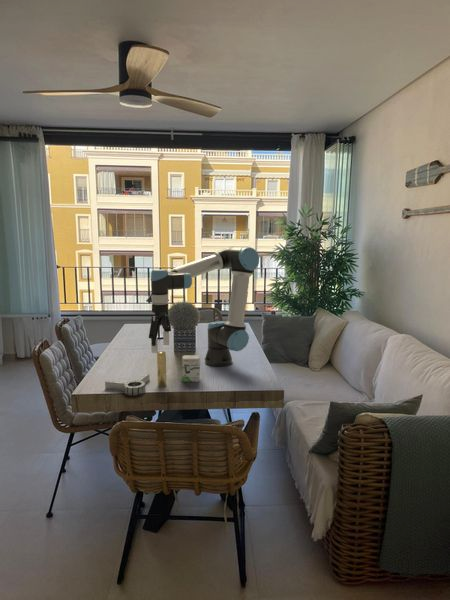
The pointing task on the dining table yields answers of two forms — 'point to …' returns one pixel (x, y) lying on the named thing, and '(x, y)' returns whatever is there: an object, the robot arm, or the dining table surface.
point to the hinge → (129, 386)
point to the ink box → (190, 368)
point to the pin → (161, 368)
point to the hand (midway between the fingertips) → (160, 348)
